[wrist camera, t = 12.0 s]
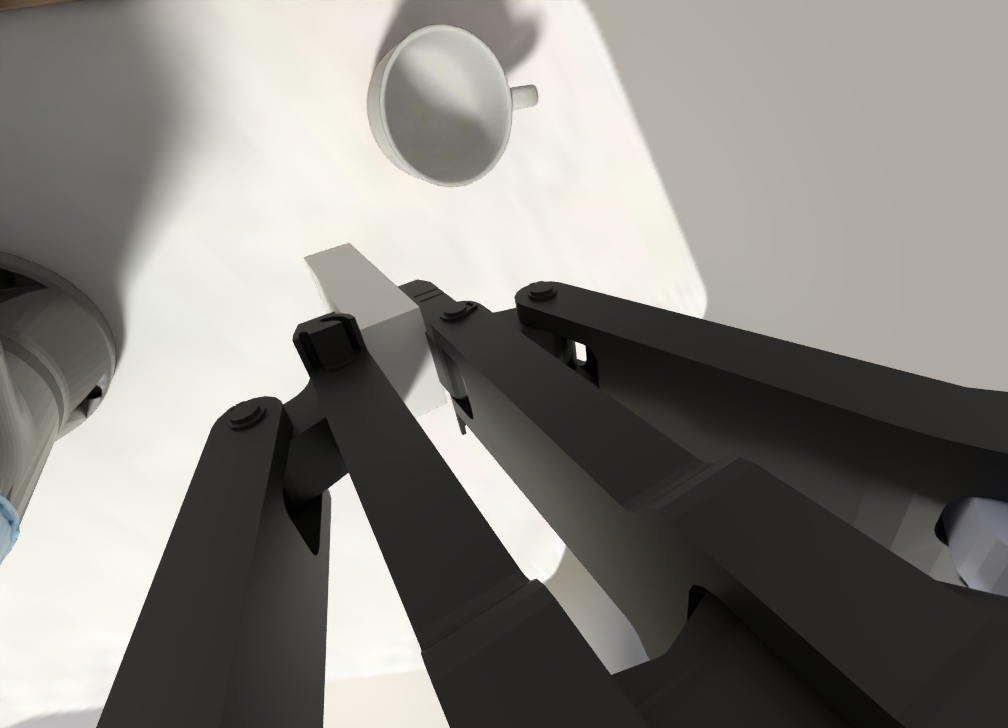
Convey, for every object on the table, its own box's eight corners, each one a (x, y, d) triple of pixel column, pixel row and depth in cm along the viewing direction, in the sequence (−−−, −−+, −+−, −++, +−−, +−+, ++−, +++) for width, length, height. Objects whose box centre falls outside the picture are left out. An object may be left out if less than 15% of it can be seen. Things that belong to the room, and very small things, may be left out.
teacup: (360, 177, 42) (387, 189, 36) (347, 28, 37) (375, 12, 31) (499, 175, 49) (543, 184, 42) (503, 47, 44) (553, 37, 38)
